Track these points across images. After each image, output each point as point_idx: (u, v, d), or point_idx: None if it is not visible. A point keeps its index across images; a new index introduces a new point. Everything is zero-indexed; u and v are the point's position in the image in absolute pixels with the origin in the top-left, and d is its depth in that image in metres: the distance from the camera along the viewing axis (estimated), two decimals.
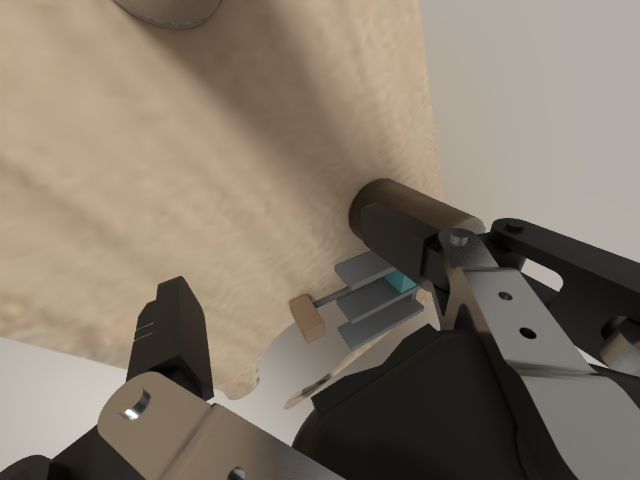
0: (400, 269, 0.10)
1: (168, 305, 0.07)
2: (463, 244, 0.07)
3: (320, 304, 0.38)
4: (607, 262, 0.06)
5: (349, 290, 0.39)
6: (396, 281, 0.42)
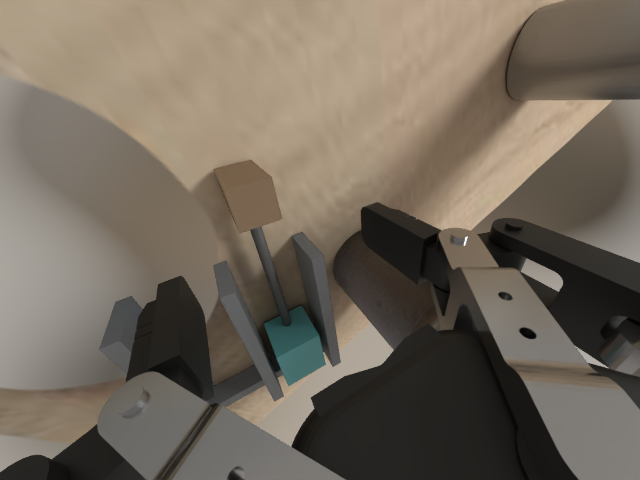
0: (399, 269, 0.10)
1: (168, 305, 0.07)
2: (463, 244, 0.07)
3: None
4: (608, 262, 0.06)
5: (272, 268, 0.23)
6: (285, 340, 0.26)
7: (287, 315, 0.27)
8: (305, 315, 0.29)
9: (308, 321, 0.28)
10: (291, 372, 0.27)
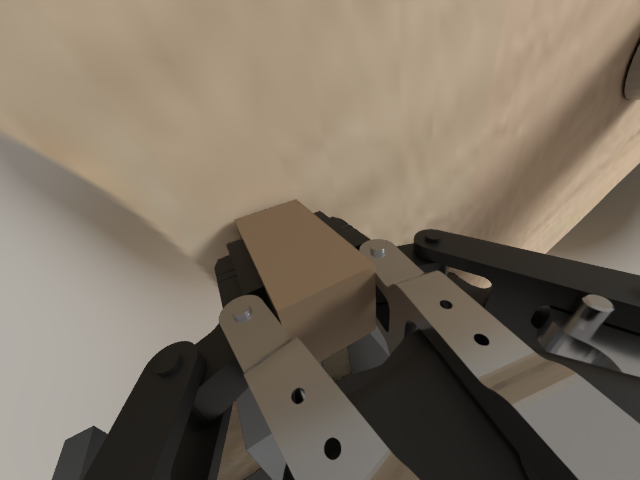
0: None
1: (241, 257, 0.09)
2: (378, 256, 0.07)
3: None
4: (518, 257, 0.07)
5: None
6: None
7: None
8: None
9: None
10: None
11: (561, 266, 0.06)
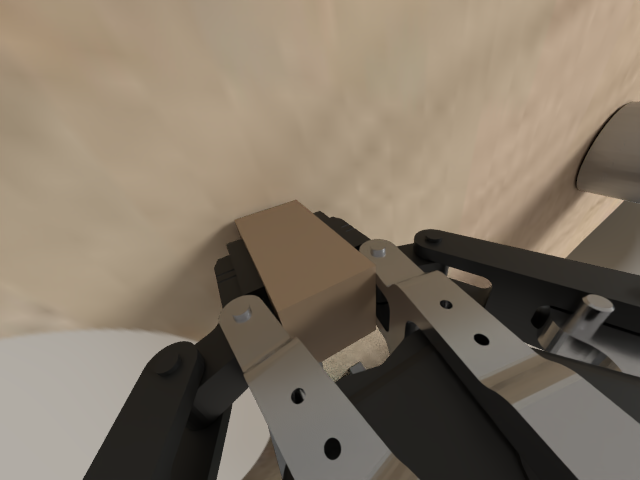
0: None
1: (241, 257, 0.09)
2: (378, 256, 0.07)
3: None
4: (518, 257, 0.07)
5: None
6: None
7: None
8: None
9: None
10: None
11: (562, 266, 0.06)
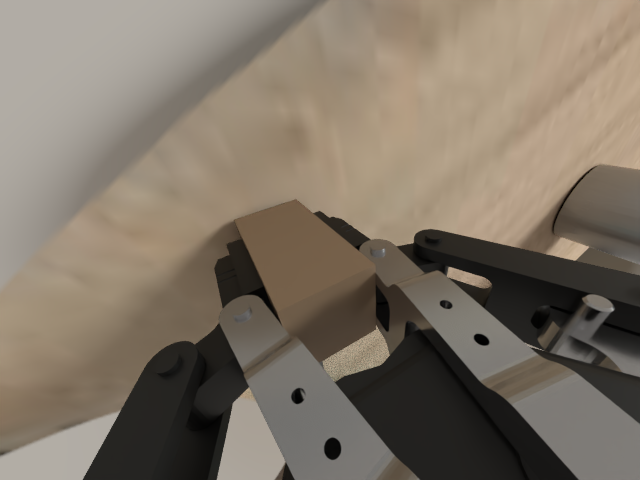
0: None
1: (241, 257, 0.09)
2: (378, 256, 0.07)
3: None
4: (518, 257, 0.07)
5: None
6: None
7: None
8: None
9: None
10: None
11: (562, 266, 0.06)
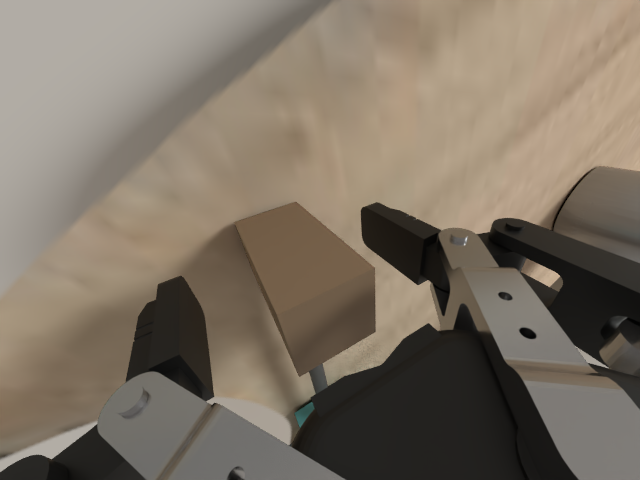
0: (399, 269, 0.10)
1: (168, 305, 0.07)
2: (463, 244, 0.07)
3: None
4: (608, 262, 0.06)
5: None
6: None
7: None
8: None
9: None
10: None
11: None
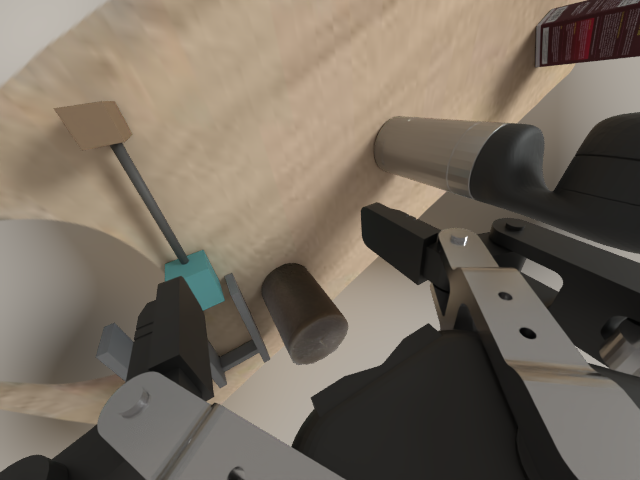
0: (400, 269, 0.10)
1: (168, 305, 0.07)
2: (463, 244, 0.07)
3: (122, 154, 0.23)
4: (607, 262, 0.06)
5: (152, 203, 0.27)
6: (178, 273, 0.30)
7: (181, 253, 0.31)
8: (203, 256, 0.32)
9: (204, 259, 0.32)
10: None
11: None
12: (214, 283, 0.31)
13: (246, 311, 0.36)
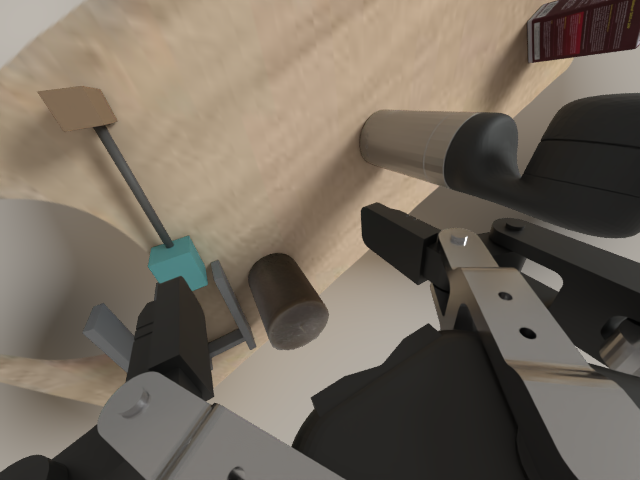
0: (399, 269, 0.10)
1: (168, 305, 0.07)
2: (463, 244, 0.07)
3: (107, 139, 0.25)
4: (608, 262, 0.06)
5: (136, 187, 0.28)
6: (162, 256, 0.31)
7: (166, 237, 0.32)
8: (187, 241, 0.34)
9: (187, 244, 0.33)
10: None
11: None
12: (197, 267, 0.33)
13: (230, 297, 0.38)
